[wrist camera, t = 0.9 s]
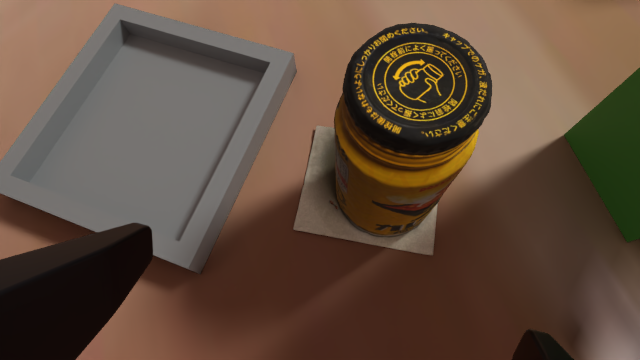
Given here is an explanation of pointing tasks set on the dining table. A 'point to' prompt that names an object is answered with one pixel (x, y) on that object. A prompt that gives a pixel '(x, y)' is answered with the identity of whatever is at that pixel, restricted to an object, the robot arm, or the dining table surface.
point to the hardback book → (614, 153)
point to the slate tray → (151, 131)
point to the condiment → (396, 138)
